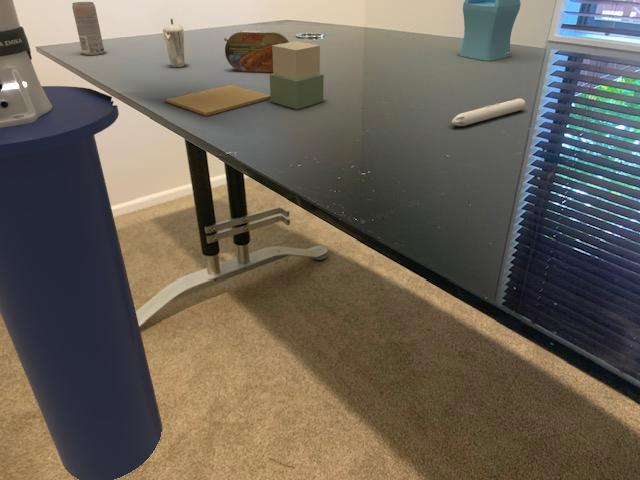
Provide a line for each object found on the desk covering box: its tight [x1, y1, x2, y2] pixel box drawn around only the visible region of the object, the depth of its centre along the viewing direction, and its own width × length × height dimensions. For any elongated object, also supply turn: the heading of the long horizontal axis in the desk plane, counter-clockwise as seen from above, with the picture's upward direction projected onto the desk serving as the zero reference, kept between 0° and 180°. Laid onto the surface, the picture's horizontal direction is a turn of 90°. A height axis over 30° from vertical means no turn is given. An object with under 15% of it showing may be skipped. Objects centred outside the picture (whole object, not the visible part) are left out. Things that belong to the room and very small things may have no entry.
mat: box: [166, 84, 271, 117], centre depth 94 cm, size 15×12×1 cm
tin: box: [224, 31, 290, 73], centre depth 113 cm, size 15×3×8 cm, turn 82°
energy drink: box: [71, 1, 105, 56], centre depth 128 cm, size 5×5×12 cm
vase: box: [459, 0, 522, 62], centre depth 125 cm, size 10×10×25 cm
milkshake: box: [162, 18, 186, 68], centre depth 117 cm, size 5×5×10 cm
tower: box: [269, 40, 325, 110], centre depth 92 cm, size 7×7×10 cm
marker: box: [451, 98, 526, 127], centre depth 85 cm, size 18×2×2 cm, turn 126°
